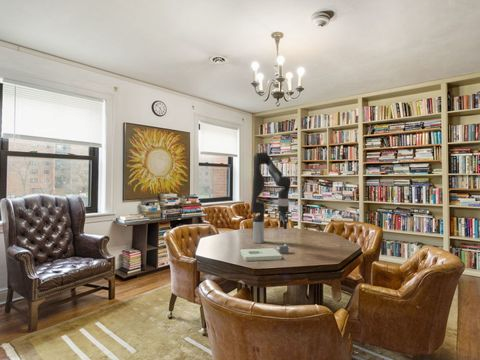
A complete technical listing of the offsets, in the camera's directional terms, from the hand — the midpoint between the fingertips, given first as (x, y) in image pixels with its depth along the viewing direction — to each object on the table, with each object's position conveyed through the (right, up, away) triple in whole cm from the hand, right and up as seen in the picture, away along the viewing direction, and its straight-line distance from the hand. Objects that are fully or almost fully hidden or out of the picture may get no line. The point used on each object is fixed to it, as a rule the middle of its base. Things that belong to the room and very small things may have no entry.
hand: (283, 228), depth 198 cm
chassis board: (-17, -18, -9) cm, 26 cm away
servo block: (0, -18, 0) cm, 18 cm away
